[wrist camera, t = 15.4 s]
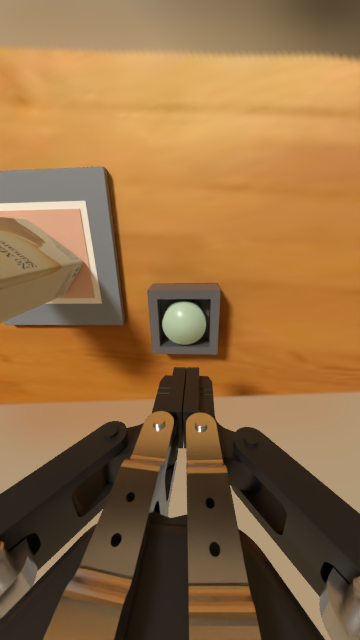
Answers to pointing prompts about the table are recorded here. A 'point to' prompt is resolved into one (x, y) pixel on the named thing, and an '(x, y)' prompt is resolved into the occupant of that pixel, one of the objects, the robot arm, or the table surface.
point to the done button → (184, 321)
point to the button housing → (198, 292)
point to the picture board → (70, 240)
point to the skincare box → (31, 267)
